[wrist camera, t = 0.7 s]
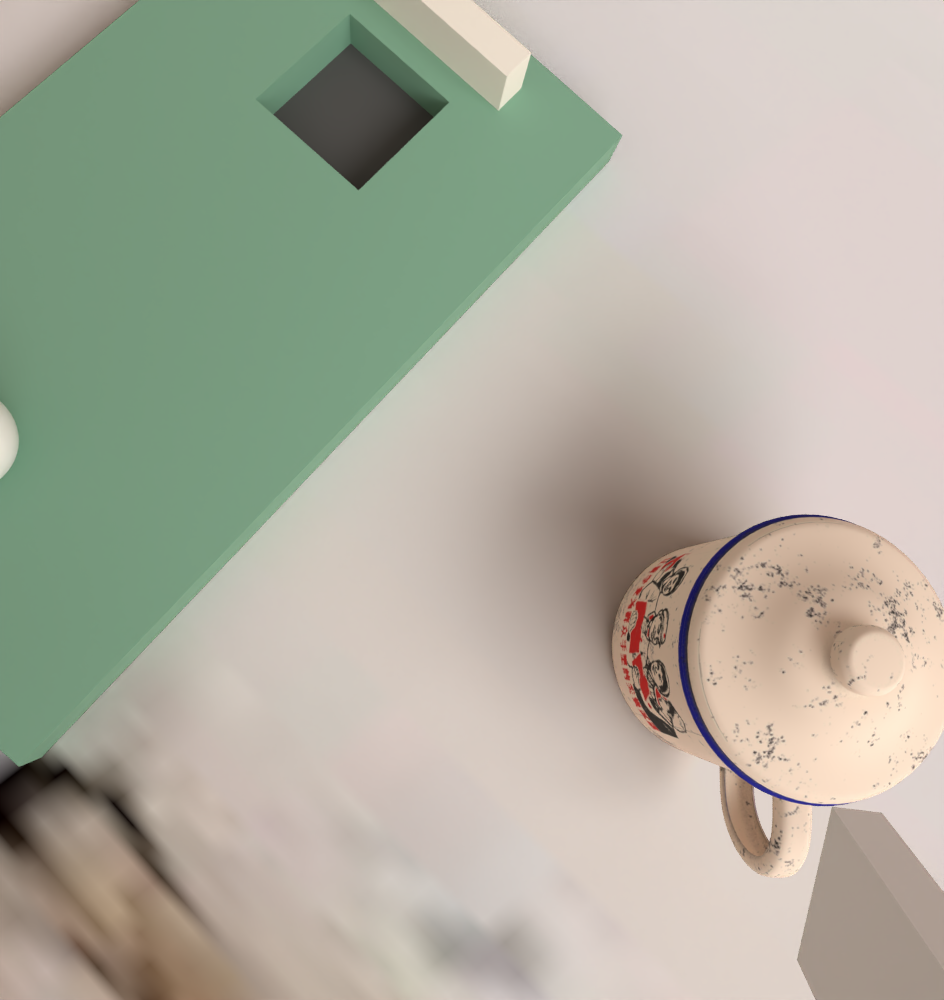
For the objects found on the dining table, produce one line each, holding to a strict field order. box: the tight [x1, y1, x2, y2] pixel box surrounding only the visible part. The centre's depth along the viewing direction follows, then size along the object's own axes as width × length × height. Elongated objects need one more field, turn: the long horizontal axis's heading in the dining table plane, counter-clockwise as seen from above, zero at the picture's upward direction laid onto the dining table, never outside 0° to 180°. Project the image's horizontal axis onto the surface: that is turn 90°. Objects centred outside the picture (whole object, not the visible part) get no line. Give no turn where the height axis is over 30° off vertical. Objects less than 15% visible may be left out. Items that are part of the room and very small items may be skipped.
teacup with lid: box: [612, 515, 944, 878], centre depth 28 cm, size 12×9×12 cm
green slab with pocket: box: [0, 0, 622, 766], centre depth 32 cm, size 34×18×4 cm, turn 139°
